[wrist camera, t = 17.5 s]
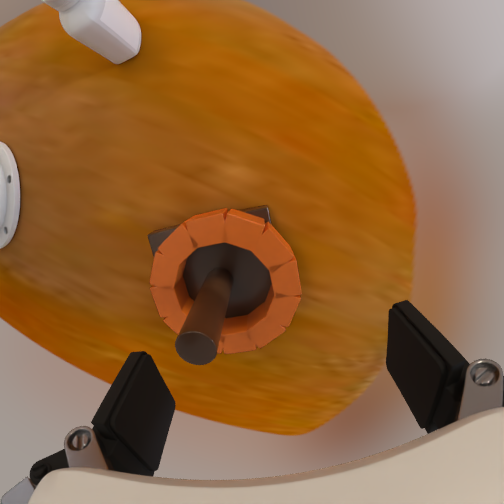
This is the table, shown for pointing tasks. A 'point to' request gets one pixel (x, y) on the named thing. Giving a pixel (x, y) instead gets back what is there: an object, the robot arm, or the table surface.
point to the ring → (244, 236)
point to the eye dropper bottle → (101, 26)
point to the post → (217, 290)
